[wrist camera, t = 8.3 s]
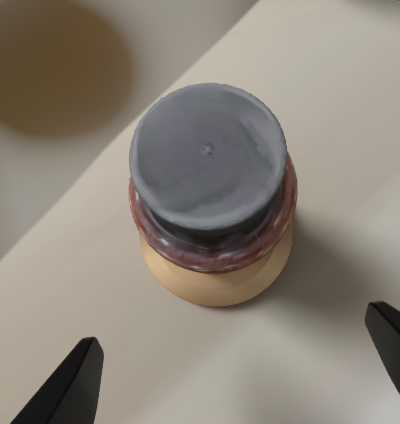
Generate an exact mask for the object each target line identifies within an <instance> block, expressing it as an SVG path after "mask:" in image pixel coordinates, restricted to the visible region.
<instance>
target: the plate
mask: <svg viewBox="0 0 400 424" xmlns="http://www.w3.org/2000/svg"><path fill="white" fill-rule="evenodd" d="M139 236H140V244H141V248H142V252H143V255H144V258H145V260H146V263H147V265H148V266H149V268H150V270H151V272H152V273H153V274H154V276H155V277H156V278H157V280H158V281H159V282H160V283H161V284H162V285H163V286H164V287H165V288H167V289H168V290H169V291H170V292H172V293H173V294H175V295H177V296H178V297H180V298H182V299H184V300H187V301H189V302H191V303H195V304H199V305H204V306H228V305H234V304H238V303H241V302H244V301H246V300H248V299H251V298H253V297H255V296H256V295H258V294H259V293H261V292H262V291H264V290H265V289H266V288H267V287H268V286H270V285H271V284H272V283H273V281H274V280H275V279H276V278H277V277H278V276H279V274H280V272H281V271H282V269H283V268H284V266H285V264H286V262H287V260H288V257H289V254H290V251H291V247H292V241H293V219H292V220H291V223H290V225H289V227H288V229H287V231H286V232H285V234H284V236H283V237H282V239H281V240H280V242H279V243H278V244H277V245H276V246H275V247H274V248H273V249H272V250H271V251H270V252H269V253H268V254H267V255H266V256H264V257H263V258H262V259H261V260H259V261H258V262H256V263H254V264H252V265H250V266H248V267H246V268H244V269H242V270H239V271H235V272H232V273H228V274H221V275H213V274H203V273H198V272H194V271H190V270H186V269H184V268H181V267H179V266H177V265H175V264H173V263H171V262H170V261H168V260H166V259H165V258H163V257H162V256H160V255H159V254H158V253H157V252H156V251H155V250H154V249H153V248H152V247H151V246H149V245H148V243H147V242H146V241H145V239H144V238H143V236H142V235H141V233H140V231H139Z"/></svg>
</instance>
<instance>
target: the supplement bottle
mask: <svg viewBox="0 0 400 424" xmlns="http://www.w3.org/2000/svg"><path fill="white" fill-rule="evenodd" d="M129 166H130V173H131V174H130V179H129V182H130V183H129V202H130V209H131V212H132V215H133V218H134V221H135V223H136V225H137V228H138V230H139V231H140V233H141V235H142V236H143V238H144V239H145V241H146V242H147V243H148V245H149V246H151V247H152V248H153V249H154V250H155V251H156V252H157V253H158V254H159V255H160V256H162V257H163V258H165V259H166V260H168V261H170V262H171V263H173V264H175V265H177V266H179V267H181V268H184V269H186V270H190V271H194V272H198V273H203V274H213V275H221V274H228V273H232V272H235V271H239V270H242V269H244V268H246V267H248V266H250V265H252V264H254V263H256V262H258V261H259V260H261V259H262V258H263V257H264V256H266V255H267V254H268V253H269V252H270V251H271V250H272V249H273V248H274V247H275V246H276V245H277V244H278V243H279V242H280V240H281V239H282V237H283V236H284V234H285V232H286V231H287V229H288V227H289V225H290V223H291V220H292V218H293V215H294V212H295V207H296V202H297V195H298V194H297V178H296V173H295V169H294V166H293V163H292V160H291V158H290V156H289V154H288V152H287V146H286V140H285V137H284V133H283V130H282V128H281V126H280V124H279V122H278V120H277V118H276V117H275V116H274V114H273V113H272V112H271V110H270V109H269V108H268V107H267V106H266V105H265V104H264V103H263V102H262V101H260V100H259V99H258V98H256V97H254V96H253V95H252V94H250V93H247V92H246V91H244V90H242V89H239V88H236V87H233V86H230V85H226V84H218V83H203V84H196V85H190V86H186V87H184V88H181V89H178V90H176V91H174V92H172V93H170V94H168V95H166V96H165V97H163V98H161V99H160V100H159V101H158V102H157V103H155V104H154V105H153V106H152V107H151V108H150V109H149V110H148V111H147V113H146V114H145V115H144V116H143V118H142V119H141V120H140V122H139V124H138V126H137V128H136V130H135V132H134V135H133V138H132V142H131V147H130V152H129Z"/></svg>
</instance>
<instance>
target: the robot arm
mask: <svg viewBox="0 0 400 424" xmlns="http://www.w3.org/2000/svg"><path fill="white" fill-rule="evenodd" d="M365 324H366V327H367V329H368V331H369V334H370V336H371V338H372V340H373V342H374V344H375V347H376V349H377V351H378V353H379V355H380V358H381V360H382V362H383V364H384V366H385V368H386V370H387V372H388V374H389V376H390V378H391V380H392V382H393V383H394V385H395V387H396V389H397V390H398V392H399V394H400V311H398V310H397V309H395V308H394V307H392V306H391V305H389V304H388V303H386V302H384V301H376V302H370V303H369V304H368V307H367V311H366V316H365ZM103 360H104V353H103V350H102V348H101V346H100V344H99V342H98V340H97V338H96V337H86V338H83V339H81V340H80V341H79V343H78V344H77V345H76V346H75V347H74V349H73V350H72V351H71V352H70V353H69V354H68V356H67V357H66V358H65V359H64V360H63V362H62V363H61V364H60V365H59V366H58V367H57V369H56V370H55V371H54V372H53V373H52V375H51V376H50V377H49V378H48V379H47V381H46V382H45V383H44V384H43V385H42V386H41V388H40V389H39V390H38V391H37V392H36V394H35V395H34V396H33V397H32V398H31V399H30V401H29V402H28V403H27V404H26V405H25V407H24V408H23V409H22V410H21V411H20V412H19V414H18V415H17V416H16V417H15V418H14V420H13V421H12V422H11V423H10V424H94V420H95V415H96V410H97V405H98V398H99V391H100V383H101V375H102V368H103Z"/></svg>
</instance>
